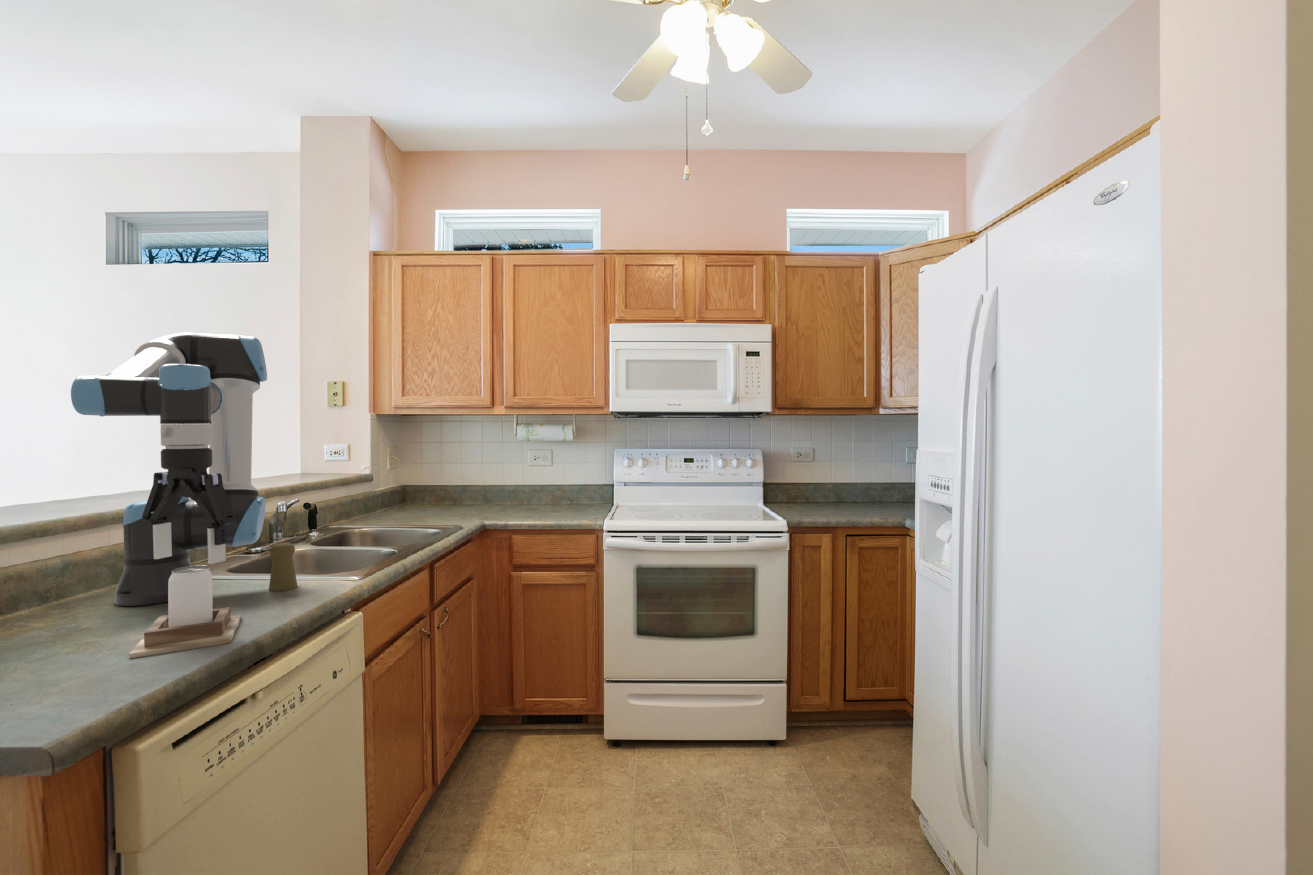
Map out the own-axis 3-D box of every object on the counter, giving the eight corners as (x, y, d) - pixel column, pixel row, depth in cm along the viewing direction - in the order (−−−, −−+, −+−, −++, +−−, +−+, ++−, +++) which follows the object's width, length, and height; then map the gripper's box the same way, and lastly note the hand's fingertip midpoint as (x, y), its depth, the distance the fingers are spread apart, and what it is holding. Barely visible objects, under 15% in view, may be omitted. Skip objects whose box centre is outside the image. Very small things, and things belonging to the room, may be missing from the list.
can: (188, 639, 106) (187, 573, 106) (159, 637, 107) (158, 571, 107) (221, 627, 112) (221, 565, 112) (193, 625, 113) (193, 564, 113)
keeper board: (153, 630, 113) (152, 613, 113) (241, 618, 120) (241, 602, 120) (128, 658, 99) (128, 639, 99) (230, 642, 106) (229, 624, 106)
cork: (276, 585, 147) (276, 541, 146) (302, 584, 147) (301, 540, 147) (263, 591, 140) (262, 546, 140) (289, 590, 141) (289, 545, 141)
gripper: (115, 447, 109) (118, 560, 109) (217, 449, 102) (220, 569, 103) (159, 445, 116) (162, 551, 117) (257, 447, 109) (259, 559, 110)
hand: (189, 560), depth 110 cm, fingers open, 13 cm apart
